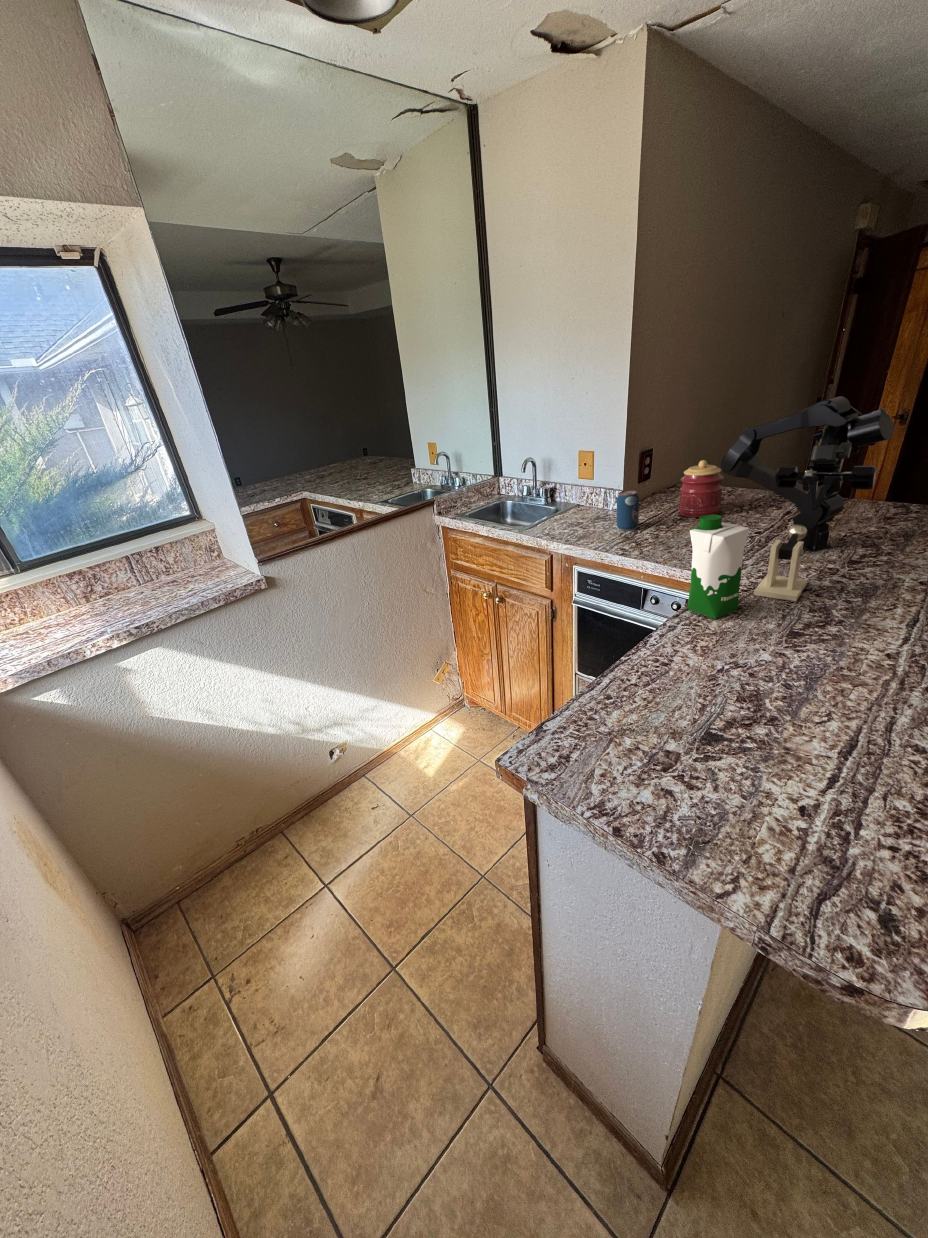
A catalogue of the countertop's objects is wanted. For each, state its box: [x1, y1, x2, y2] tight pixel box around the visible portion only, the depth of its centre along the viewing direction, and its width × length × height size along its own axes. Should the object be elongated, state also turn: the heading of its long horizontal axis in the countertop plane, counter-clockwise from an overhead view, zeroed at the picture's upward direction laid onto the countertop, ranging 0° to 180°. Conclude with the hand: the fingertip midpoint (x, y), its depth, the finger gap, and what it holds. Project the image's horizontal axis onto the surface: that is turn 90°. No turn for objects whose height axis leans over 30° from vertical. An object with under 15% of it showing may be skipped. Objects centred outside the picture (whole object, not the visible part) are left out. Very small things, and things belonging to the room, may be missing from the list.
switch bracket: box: [753, 539, 808, 602], centre depth 104 cm, size 10×8×11 cm
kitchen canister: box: [678, 459, 725, 518], centre depth 162 cm, size 13×13×18 cm
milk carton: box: [686, 514, 750, 620], centre depth 99 cm, size 9×9×20 cm
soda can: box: [616, 490, 640, 532], centre depth 159 cm, size 7×7×12 cm
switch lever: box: [778, 524, 807, 561], centre depth 105 cm, size 12×4×4 cm, turn 138°
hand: (813, 509), depth 111 cm, fingers closed
